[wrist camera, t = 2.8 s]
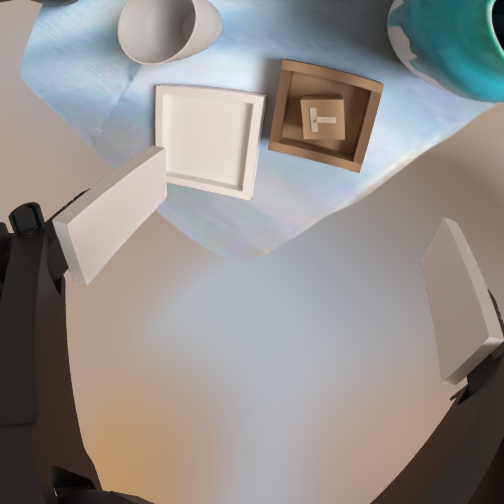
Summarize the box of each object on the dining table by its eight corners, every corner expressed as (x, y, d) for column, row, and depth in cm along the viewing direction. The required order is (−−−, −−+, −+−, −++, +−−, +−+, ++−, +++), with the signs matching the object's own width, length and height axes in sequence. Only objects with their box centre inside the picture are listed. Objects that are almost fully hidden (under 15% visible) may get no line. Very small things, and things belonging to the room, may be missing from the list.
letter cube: (307, 129, 30) (303, 139, 27) (304, 94, 28) (300, 100, 25) (344, 129, 29) (344, 139, 26) (342, 94, 27) (343, 99, 24)
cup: (158, 28, 26) (104, 29, 19) (207, -16, 22) (160, -33, 15) (198, 71, 29) (151, 83, 22) (251, 29, 25) (217, 20, 17)
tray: (163, 174, 40) (156, 180, 38) (163, 83, 31) (156, 85, 30) (253, 193, 38) (249, 200, 37) (267, 94, 30) (263, 96, 28)
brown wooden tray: (273, 141, 33) (268, 149, 31) (286, 59, 26) (282, 59, 24) (357, 163, 32) (359, 173, 29) (379, 81, 25) (383, 84, 23)
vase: (479, 27, 17) (595, 33, 2) (451, 101, 24) (552, 166, 9) (394, -22, 17) (452, -92, 2) (365, 55, 24) (407, 54, 9)
